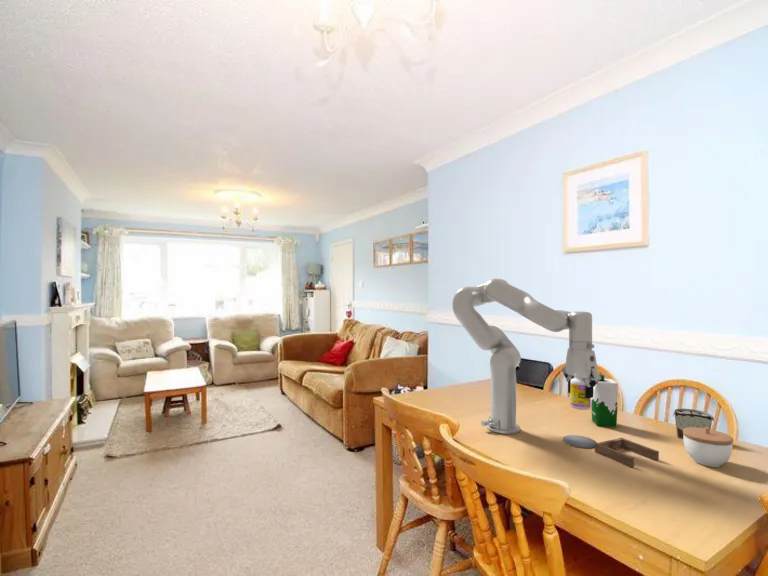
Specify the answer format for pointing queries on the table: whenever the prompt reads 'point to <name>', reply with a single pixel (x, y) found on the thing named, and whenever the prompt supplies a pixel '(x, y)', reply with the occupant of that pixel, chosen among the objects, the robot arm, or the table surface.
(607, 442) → the holder
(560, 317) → the robot arm
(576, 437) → the mat
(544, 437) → the table surface
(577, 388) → the supplement bottle
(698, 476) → the table surface
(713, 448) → the lidded bowl
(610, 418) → the milk carton
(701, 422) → the food container
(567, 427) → the table surface
